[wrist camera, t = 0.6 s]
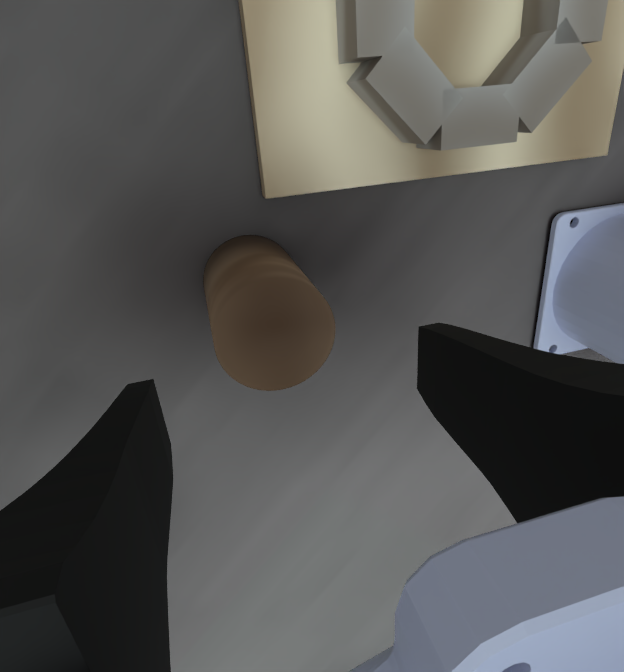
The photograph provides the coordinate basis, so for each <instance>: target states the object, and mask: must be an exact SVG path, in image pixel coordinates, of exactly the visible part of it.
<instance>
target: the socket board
mask: <svg viewBox="0 0 624 672" xmlns="http://www.w3.org/2000/svg"><path fill="white" fill-rule="evenodd" d="M239 8H240V16H241V24H242V33H243V41H244V49H245V57H246V65H247V73H248V81H249V89H250V97H251V105H252V114H253V122H254V130H255V138H256V146H257V154H258V162H259V170H260V178H261V186H262V195H263V197H265V198H266V199H268V198H276V197H284V196H292V195H299V194H307V193H315V192H323V191H331V190H339V189H346V188H354V187H362V186H370V185H378V184H386V183H393V182H401V181H409V180H417V179H425V178H433V177H441V176H448V175H456V174H464V173H472V172H480V171H488V170H495V169H503V168H511V167H519V166H527V165H535V164H542V163H550V162H558V161H566V160H574V159H582V158H589V157H597V156H605V155H607V154H608V148H609V143H610V138H611V132H612V127H613V122H614V116H615V111H616V106H617V100H618V95H619V90H620V84H621V79H622V74H623V68H624V0H239Z"/></svg>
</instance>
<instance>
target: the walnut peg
mask: <svg viewBox="0 0 624 672" xmlns="http://www.w3.org/2000/svg"><path fill="white" fill-rule="evenodd" d="M203 284H204V291H205V297H206V303H207V308H208V314H209V320H210V326H211V331H212V337H213V343H214V349H215V352H216V356H217V358H218V361H219V363H220V364H221V366H222V368H223V369H224V370H225V371H226V373H227V374H228V375H229V376H231V377H232V378H233V379H234V380H236V381H237V382H239V383H240V384H242V385H245V386H247V387H250V388H253V389H258V390H266V391H272V390H281V389H286V388H289V387H292V386H295V385H297V384H299V383H301V382H303V381H305V380H306V379H308V378H309V377H311V376H312V375H313V374H314V373H315V372H317V370H318V369H319V368H320V367H321V366H322V365H323V363H324V362H325V361H326V359H327V357H328V356H329V354H330V351H331V349H332V346H333V343H334V338H335V321H334V316H333V313H332V310H331V308H330V306H329V304H328V303H327V301H326V300H325V298H324V297H323V296H322V295H321V294H320V292H319V291H318V290H317V289H316V288H315V286H314V285H313V284H312V283H311V282H310V280H309V279H308V278H307V277H306V276H305V274H304V273H303V272H302V271H301V270H300V268H299V267H298V266H297V265H296V264H295V262H294V261H293V260H292V259H291V258H290V256H289V255H288V254H287V253H286V252H285V250H284V249H283V248H282V247H281V246H279V245H278V244H277V243H275V242H274V241H272V240H270V239H268V238H265V237H262V236H257V235H243V236H239V237H235V238H232V239H230V240H228V241H226V242H225V243H223V244H222V245H220V246H219V247H218V248H217V249H216V250H215V251H214V252H213V254H212V255H211V256H210V258H209V260H208V262H207V264H206V267H205V270H204V276H203Z"/></svg>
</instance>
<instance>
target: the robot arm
mask: <svg viewBox="0 0 624 672" xmlns="http://www.w3.org/2000/svg"><path fill="white" fill-rule="evenodd" d="M572 219H573V222H572V224H571V225H570V221H571V220H572ZM551 346H552V347H551ZM550 347H551V348H550ZM549 348H550V349H549ZM586 348H590V349H592V350H594V351H596V352H597V353H599V354H601V355H603V356H605V357H606V358H608V359H610V360H612V361H614V362H615V363H610V362H602V361H595V360H588V359H582V358H577V357H571V356H566V355H560V354H564V353H568V352H573V351H577V350H582V349H586ZM417 389H418V391H419V393H420V394H421V396H422V398H423V400H424V401H425V403H426V405H427V406H428V408H429V409H430V411H431V412H432V414H433V415H434V417H435V418H436V419H437V420H438V422H439V423H440V424H441V425H442V426H443V428H444V429H445V430H446V431H447V432H448V434H449V435H450V436H451V437H452V438H453V439H454V441H455V442H456V443H457V444H458V445H459V446H460V448H461V449H462V450H463V451H464V452H465V453H466V455H467V456H468V457H469V458H470V459H471V460H472V462H473V463H474V464H475V465H476V466H477V467H478V468H479V470H480V471H481V472H482V473H483V475H484V476H485V477H486V478H487V480H488V481H489V482H490V483H491V485H492V486H493V488H494V489H495V491H496V492H497V493H498V495H499V496H500V498H501V499H502V501H503V502H504V504H505V505H506V507H507V508H508V510H509V511H510V512H511V514H512V515H513V517H514V519H515V520H516V522H517V524H514V525H511V526H507V527H504V528H501V529H497V530H494V531H491V532H488V533H484V534H481V535H478V536H474V537H471V538H468V539H464V540H462V541H460V542H458V543H456V544H454V545H452V546H450V547H448V548H446V549H444V550H442V551H440V552H438V553H436V554H434V555H432V556H430V557H429V558H428V559H427V560H426V561H425V562H424V563H423V564H422V565H421V566H420V567H419V568H418V569H417V570H416V571H415V572H414V574H413V575H412V576H411V577H410V578H409V579H408V580H407V581H406V584H405V586H404V589H403V592H402V594H401V597H400V600H399V603H398V606H397V609H396V612H395V642H394V646H392V647H390V648H388V649H387V650H385V651H383V652H381V653H380V654H378V655H376V656H374V657H373V658H371V659H369V660H368V661H366V662H364V663H362V664H361V665H359V666H357V667H355V668H354V669H352V670H350V671H349V672H624V203H619V204H613V205H606V206H600V207H593V208H587V209H580V210H574V211H567V212H561V213H559V214H558V215H556V216H555V218H554V219H553V221H552V226H551V232H550V239H549V246H548V253H547V260H546V266H545V273H544V280H543V287H542V293H541V300H540V307H539V314H538V321H537V327H536V334H535V341H534V348H530V347H526V346H522V345H519V344H515V343H511V342H508V341H504V340H501V339H498V338H494V337H491V336H487V335H484V334H481V333H477V332H474V331H471V330H467V329H464V328H460V327H456V326H453V325H448V324H443V323H435V324H430V325H425V326H420V327H419V333H418V376H417ZM172 489H173V467H172V452H171V443H170V439H169V435H168V432H167V428H166V424H165V421H164V417H163V413H162V409H161V406H160V402H159V398H158V395H157V391H156V387H155V384H154V380H153V379H151V380H146V381H141V382H136V383H131V384H128V385H127V386H126V387H125V388H124V389H123V390H122V392H121V393H120V394H119V396H118V397H117V398H116V399H115V401H114V402H113V403H112V404H111V406H110V407H109V408H108V409H107V411H106V412H105V413H104V414H103V415H102V417H101V418H100V419H99V420H98V421H97V423H96V424H95V425H94V426H93V427H92V429H91V430H90V431H89V432H88V433H87V434H86V435H85V436H84V437H83V438H82V439H81V440H80V441H79V443H78V444H77V445H76V446H75V447H74V448H73V449H72V450H71V451H70V452H69V453H68V454H67V455H66V456H65V457H64V458H63V459H62V460H61V461H60V462H59V463H58V464H57V465H56V466H55V467H54V468H53V469H52V470H51V471H49V472H48V473H47V474H46V475H45V476H44V477H43V478H41V479H40V480H39V481H38V482H37V483H36V484H34V485H33V486H32V487H31V488H30V489H28V490H27V491H26V492H25V493H23V494H22V495H21V496H19V497H18V498H17V499H15V500H14V501H13V502H11V503H10V504H9V505H7V506H6V507H5V508H3V509H2V510H1V511H0V672H171V669H170V649H169V626H168V599H167V555H168V542H169V529H170V516H171V503H172Z"/></svg>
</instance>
